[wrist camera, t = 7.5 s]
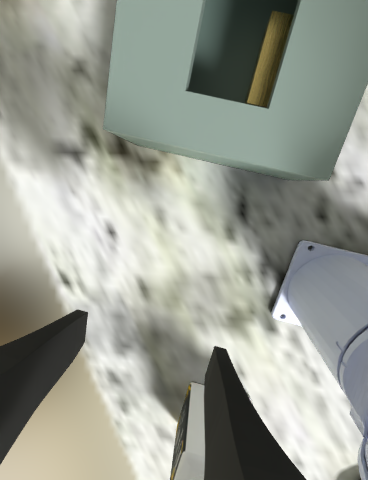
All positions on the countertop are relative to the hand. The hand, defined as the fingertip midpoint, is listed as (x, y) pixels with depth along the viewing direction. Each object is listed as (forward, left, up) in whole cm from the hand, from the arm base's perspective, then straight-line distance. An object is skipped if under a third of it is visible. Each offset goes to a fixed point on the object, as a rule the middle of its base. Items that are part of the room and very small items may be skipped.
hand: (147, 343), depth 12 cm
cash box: (-1, -17, -10) cm, 20 cm away
